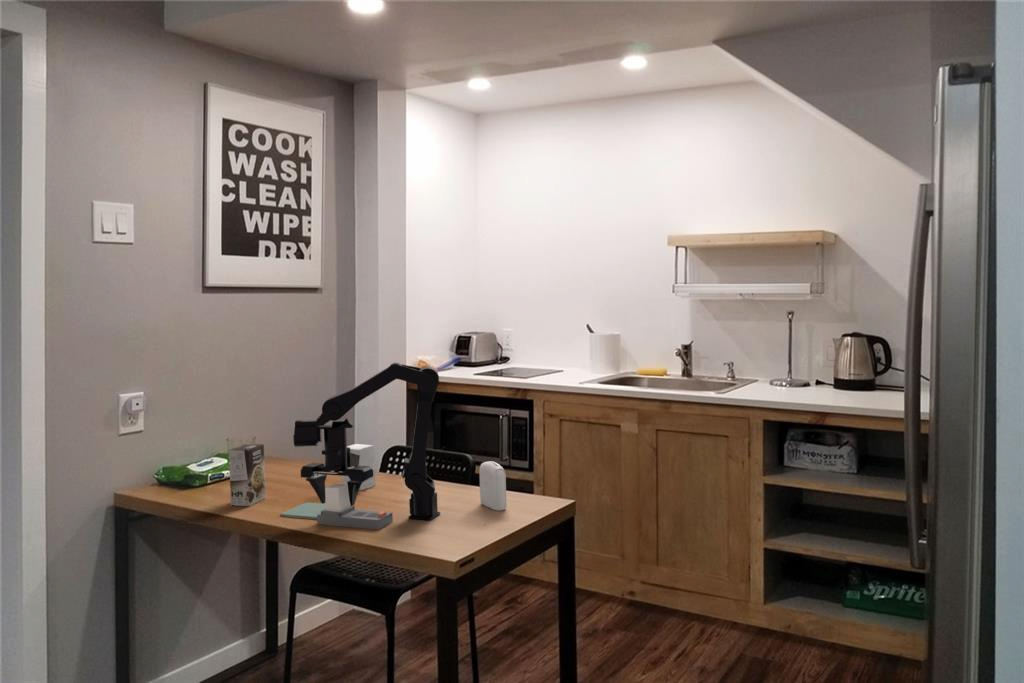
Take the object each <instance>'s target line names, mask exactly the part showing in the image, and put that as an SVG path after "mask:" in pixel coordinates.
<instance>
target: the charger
mask: <svg viewBox="0 0 1024 683" xmlns="http://www.w3.org/2000/svg"><path fill="white" fill-rule="evenodd" d="M325 504H326V511H333V512H341V511H343V510H345V509H347V508H349V507H350V500H349V492H348V484H343V482H335V483H332V484H329V485H328V486H325Z"/></svg>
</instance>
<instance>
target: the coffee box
mask: <svg viewBox="0 0 1024 683" xmlns="http://www.w3.org/2000/svg"><path fill="white" fill-rule="evenodd" d="M228 457H229V458H228V459H229V460H228V461H229V487H230V506H232V505H234V507H235V506H236V507H238V506H239V507H252V506H253V505H256V504H257V503H260V502H261V500H262V501H264V500H266V499H267V493H266V492H267V490H266V467H265V466H266V465H265V444H260V443H259V444H258V443H257V444H256V443H254V444H251V443H250V444H243V445H239V446H236V447H234V448H230V449H229V450H228ZM263 499H264V500H263ZM259 501H260V502H259Z"/></svg>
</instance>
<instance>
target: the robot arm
mask: <svg viewBox="0 0 1024 683" xmlns="http://www.w3.org/2000/svg"><path fill="white" fill-rule="evenodd" d="M395 380H400V381H403V382H407V383H410V384H414V385H416V389H417V390H416V391H417V407H416V416H415V417H416V418H415V423H414V424H415V426H414V432H413V441H412V448H411V453H410V456H409V458H407V457H404V462H403V470H402V475H401V476H402V477H401V478H402V479H404V485H405V486H406V487H407V488H408V489H409V490H410V491H412V493H410V499H409V503H408V504H409V515H408V519H413V520H424V521H425V520H426V521H431V520H433V519H435V518H436V517H438V516H439V515H441V511H438V492H436V487H435V486H436V484H435V480H433V479H432V478H431V477H430V476H429V475H428V474H427V460H426V459H427V457H426V456H427V455H426V454H427V453H426V452H427V445H428V444H427V443H428V436H429V429H430V422H431V421H430V420H431V414H432V413H431V412H432V405H433V402H434V398H435V395H436V392H437V389H438V385H439V382H440V377H439V373H438V371H437V369H436V368H434V367H432V366H430V365H429V366H422V367H418V366H412V365H407V364H403V363H399V362H393V363H392V362H391V364H390V365H389V366H387V367H386V368H384V369H382V370H380V371H379V372H378V373H376V374H374V375H373V376H370V377H369V378H368V379H367V380H365V381H362V382H361V383H360V384H358V385H357V386H354V387H353V388H350V389H347V390H345V391H342V392H340V393H339V392H338V393H337V394H334V395H331V396H329V397H328V398H327V399H326V400H324V402H323V404H322V408H321V414H320V415H318V416H317V418H316V419H315V420H313V419H312V420H311V419H310V420H303V419H297V420H295V421H294V429H293V430H294V431H293V432H294V433H293V437H292V438H293V446H294V448H301V447H303V448H305V447H318V444H319V443H322V441H324V446H323V447H324V449H323V450H321V455H324V463H321V462H310V463H308V464H306V465H302V467H301V468H300V478H303V479H304V478H305V481H306V482H308V484H310V486H311V487H312V488H313V490H314V491H315V493H316V495H317V498H318V499H319V501H320V504H326V499H325V487H326V480H327V476H340V477H342V476H349V478H350V481H348V482H347V484H348V492H349V502H350V505H351V506H355V503H356V500H357V497H358V494H359V491H360V490H359V488H360V486H361V484H362V483H363V482H364V481H366V480H368V479H369V478H371V477H373V469H372V468H371V466H359V459H360V455H357V454H353V453H351V452H350V447H347V446H348V442H347V441H348V440H347V438H348V437H347V429H352V428H353V427H354V425H355V424H354V422H352V421H351V420H350V419H349V418H348V417H346V418H345V419H344V420H340V419H342V417H344V416H345V415H346V414H347V413H349V411H351V409H353V408H354V407H355V406H356V405H357V404H358V403H359V402H361V401H363V400H364V399H366V398H367V397H369V396H370V395H373V394H374V393H376V392H377V391H379V390H381V389H382V388H384V387H385V386H387V385H389V384H390V383H393V381H395ZM330 421H332V423H331V424H328V423H329V422H330ZM323 436H324V437H323ZM323 439H324V440H323ZM352 466H354V468H352V469H348V467H352Z"/></svg>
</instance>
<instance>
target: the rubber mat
mask: <svg viewBox="0 0 1024 683" xmlns="http://www.w3.org/2000/svg"><path fill="white" fill-rule="evenodd" d="M324 509H326V503H324V504H322V503H317V502H304V503H302V504H299V505H297V506H295V507H293V508H291V509H288V510H286V511H284V512H281V513H280V514H279V516H280V517H286V518H296V519H297V518H298V519H306V520H307V519H308V520H310V519H311V520H317V515H318V514H320V513H321V511H322V510H324Z"/></svg>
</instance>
